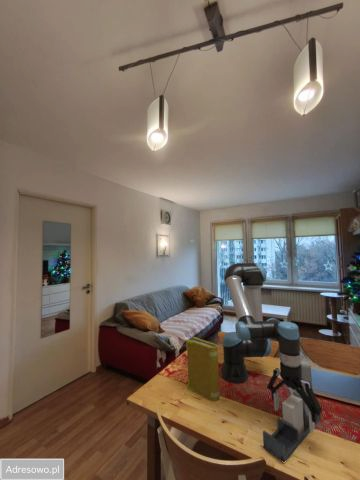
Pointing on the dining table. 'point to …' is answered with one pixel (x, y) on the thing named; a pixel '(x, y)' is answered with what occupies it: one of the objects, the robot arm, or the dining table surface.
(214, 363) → the book
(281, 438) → the rack
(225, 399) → the dining table surface
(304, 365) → the network device
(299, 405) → the block
